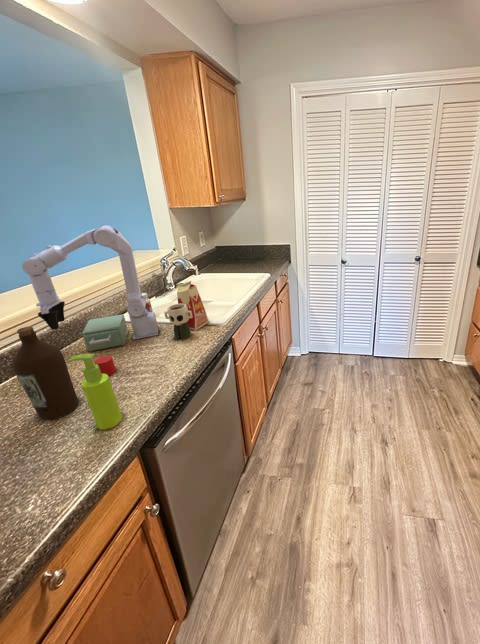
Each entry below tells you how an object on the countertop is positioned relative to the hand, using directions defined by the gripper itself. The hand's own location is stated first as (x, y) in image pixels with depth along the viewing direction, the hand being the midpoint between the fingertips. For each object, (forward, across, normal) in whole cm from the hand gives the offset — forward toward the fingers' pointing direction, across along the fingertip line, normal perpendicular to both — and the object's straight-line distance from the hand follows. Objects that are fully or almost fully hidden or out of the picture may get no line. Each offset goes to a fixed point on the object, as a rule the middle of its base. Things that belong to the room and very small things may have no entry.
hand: (58, 325), depth 121 cm
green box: (+10, 0, +15) cm, 18 cm away
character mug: (+10, +10, +43) cm, 45 cm away
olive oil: (+10, +43, +8) cm, 45 cm away
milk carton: (+10, 0, +48) cm, 49 cm away
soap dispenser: (+10, +55, +22) cm, 60 cm away
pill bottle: (+10, -20, +28) cm, 36 cm away
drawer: (+9, +4, +15) cm, 18 cm away
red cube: (+10, +27, +18) cm, 34 cm away
